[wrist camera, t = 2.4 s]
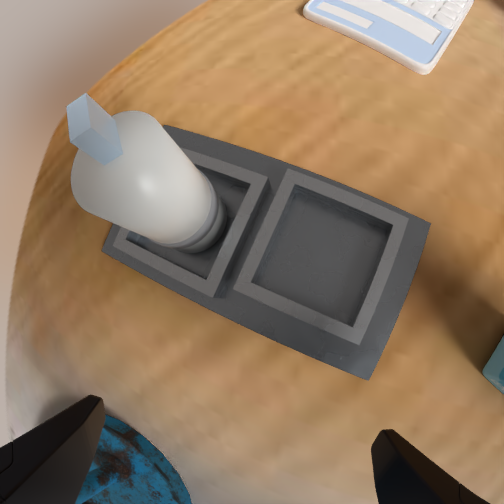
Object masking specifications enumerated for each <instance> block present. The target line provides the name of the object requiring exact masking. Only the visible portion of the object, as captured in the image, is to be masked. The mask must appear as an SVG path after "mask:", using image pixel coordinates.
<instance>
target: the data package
mask: <svg viewBox="0 0 504 504" xmlns="http://www.w3.org/2000/svg"><path fill="white" fill-rule="evenodd" d="M483 375H484V376H485V378H486V379H487V380H488V381H490V382H491V383H492V384H493V385H494V386H495V387H496V388H497V389H498V390H499V391H501V392H502V393H503V394H504V335H503V337H502V339H501V341H500V342H499V344H498V346H497V348H496V349H495V351H494V353H493V354H492V356H491V358H490V359H489V361H488V362H487V364H486V365H485V367H484V369H483Z"/></svg>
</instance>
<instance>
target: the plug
mask: <svg viewBox="0 0 504 504" xmlns="http://www.w3.org/2000/svg"><path fill="white" fill-rule="evenodd" d="M67 118H68V128H69V137H70V142H71V143H72V144H74V145H75V146H77V147H78V148H79V149H78V152H77V154H76V156H75V159H74V162H73V166H72V171H71V188H72V192H73V195H74V197H75V199H76V201H77V203H78V204H79V205H80V206H81V207H82V208H83V209H84V210H85V211H87V212H89V213H91V214H93V215H96V216H98V217H100V218H103V219H105V220H107V221H109V222H112V223H114V224H116V225H119V226H121V227H123V228H126V229H128V230H130V231H133V232H135V233H137V234H140V235H142V236H145V237H147V238H148V239H149V240H151V241H153V242H155V243H157V244H159V245H162V246H164V247H167V248H172V249H176V250H178V251H181V252H184V253H198V252H201V251H204V250H206V249H208V248H209V247H211V246H212V245H213V244H215V243H216V242H217V240H218V239H219V238H220V236H221V235H222V233H223V231H224V229H225V226H226V221H227V211H226V207H225V204H224V202H223V200H222V198H221V197H220V195H219V194H218V193H217V192H216V190H215V188H214V186H213V185H212V183H211V182H210V181H209V180H208V178H207V177H206V176H205V175H204V174H203V173H202V172H201V171H200V170H199V169H197V168H196V167H195V165H194V164H193V163H192V162H191V161H190V159H189V158H188V157H187V156H186V155H185V153H184V152H183V151H182V150H181V149H180V148H179V146H178V145H177V144H176V143H175V142H174V140H173V139H172V138H171V137H170V136H169V134H168V133H167V132H166V131H165V130H164V129H163V127H162V126H161V125H160V124H159V123H158V121H157V120H156V119H155V118H154V117H152V116H151V115H149V114H147V113H145V112H141V111H125V112H121V113H118V114H115V115H113V116H110V115H109V114H108V113H107V112H106V111H105V110H104V109H103V108H102V107H101V106H99V105H98V104H97V103H96V102H95V101H94V100H93V99H92V98H91V97H90V96H89V95H88V94H87V93H85V94H83V95H82V96H80V97H79V98H77V99H76V100H75V101H73V102H72V103H71V104H69V105H68V106H67Z"/></svg>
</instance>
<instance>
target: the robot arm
mask: <svg viewBox="0 0 504 504" xmlns="http://www.w3.org/2000/svg"><path fill="white" fill-rule="evenodd" d="M104 422H105V410H104V403H103V399H102V398H101V397H97V396H94V395H88V396H87V397H85V398H84V399H82V400H80V401H79V402H77V403H75V404H74V405H72V406H70V407H69V408H67V409H65V410H64V411H62V412H61V413H59V414H57V415H56V416H54V417H52V418H51V419H49V420H47V421H46V422H44V423H42V424H40V425H39V426H37V427H35V428H34V429H32V430H30V431H29V432H27V433H25V434H23V435H22V436H20V437H18V438H17V439H15V440H13V442H9V443H8V444H6V445H4V446H2V447H1V448H0V504H75V503H76V500H77V498H78V495H79V493H80V491H81V488H82V486H83V483H84V481H85V479H86V476H87V474H88V471H89V469H90V467H91V464H92V462H93V459H94V456H95V453H96V450H97V446H98V443H99V439H100V436H101V432H102V429H103V426H104ZM371 455H372V463H373V472H374V481H375V488H376V493H377V497H378V502H379V504H490V503H488V502H487V501H485V500H483V499H482V498H480V497H479V496H477V495H476V494H474V493H473V492H471V491H470V490H469V489H467V488H466V487H465V486H463V485H462V484H461V483H459V482H458V481H457V480H455V479H454V478H453V477H452V476H450V475H449V474H448V473H446V472H445V471H444V470H443V469H441V468H440V467H439V466H438V465H436V464H435V463H434V462H433V461H431V460H430V459H429V458H428V457H426V456H425V455H424V454H423V453H421V452H420V451H419V450H418V449H416V448H415V447H414V446H413V445H411V444H410V443H409V442H408V441H407V440H405V439H404V438H403V437H402V436H400V435H399V434H398V433H397V432H396V431H394V430H393V429H386V430H382V431H380V433H379V434H378V436H377V438H376V439H375V441H374V442H373V444H372V447H371Z"/></svg>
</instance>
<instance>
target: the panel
mask: <svg viewBox="0 0 504 504" xmlns="http://www.w3.org/2000/svg"><path fill="white" fill-rule="evenodd" d="M163 129H164V130H165V131H166V132H167V133H168V134H169V136H170V137H171V138H172V139H173V140H174V142H175V143H176V144H177V145H178V146H179V148H180V149H181V150H182V151H183V152H184V153H185V155H186V156H187V157H188V158H189V159H190V161H191V162H192V163H193V164H194V165H195V167H196V168H197V169H199V170H200V171H201V172H202V173H203V174H204V175H205V176H206V177H207V178H208V180H209V181H210V182H211V183H212V185H213V186H214V188H215V190H216V192H217V193H218V194H219V195H220V197H221V198H222V200H223V202H224V204H225V207H226V211H227V221H226V226H225V229H224V231H223V233H222V235H221V236H220V238H219V239H218V240H217V242H216V243H215V244H213V245H212V246H211V247H209V248H208V249H206V250H204V251H201V252H198V253H184V252H181V251H178V250H176V249H172V248H167V247H164V246H162V245H159V244H157V243H155V242H153V241H151V240H149V239H148V238H147V237H145V236H142V235H140V234H137V233H135V232H133V231H130V230H128V229H126V228H123V227H121V226H119V225H116V224H114V223H113V225H112V228H111V230H110V232H109V234H108V237H107V239H106V241H105V244H104V246H103V248H102V252H104V253H106V254H108V255H109V256H111V257H113V258H115V259H116V260H118V261H120V262H122V263H123V264H125V265H127V266H129V267H130V268H132V269H134V270H136V271H138V272H139V273H141V274H143V275H145V276H147V277H149V278H150V279H152V280H154V281H156V282H158V283H160V284H161V285H163V286H165V287H167V288H169V289H171V290H173V291H175V292H176V293H178V294H180V295H182V296H184V297H186V298H188V299H190V300H192V301H194V302H196V303H198V304H200V305H202V306H204V307H206V308H208V309H210V310H212V311H214V312H216V313H218V314H220V315H222V316H224V317H226V318H228V319H230V320H232V321H234V322H236V323H238V324H240V325H242V326H244V327H246V328H248V329H251V330H253V331H255V332H257V333H259V334H261V335H263V336H265V337H268V338H270V339H272V340H274V341H276V342H278V343H281V344H283V345H285V346H287V347H290V348H292V349H294V350H296V351H299V352H301V353H303V354H305V355H308V356H310V357H312V358H315V359H317V360H319V361H322V362H324V363H326V364H329V365H331V366H333V367H336V368H338V369H341V370H343V371H345V372H348V373H350V374H353V375H355V376H358V377H360V378H363V379H365V380H368V381H369V379H370V377H371V375H372V373H373V371H374V369H375V367H376V365H377V363H378V361H379V359H380V356H381V354H382V352H383V350H384V348H385V346H386V343H387V341H388V339H389V337H390V334H391V332H392V330H393V328H394V325H395V323H396V320H397V318H398V316H399V313H400V311H401V308H402V306H403V303H404V301H405V298H406V296H407V293H408V290H409V288H410V285H411V282H412V280H413V277H414V274H415V271H416V268H417V266H418V263H419V260H420V257H421V254H422V251H423V248H424V245H425V241H426V238H427V235H428V232H429V228H430V225H431V223H429V222H427V221H425V220H422V219H420V218H418V217H416V216H414V215H412V214H410V213H408V212H406V211H403V210H401V209H399V208H397V207H395V206H392V205H390V204H388V203H386V202H383V201H381V200H379V199H377V198H374V197H372V196H370V195H367V194H365V193H363V192H360V191H358V190H355V189H353V188H351V187H348V186H346V185H343V184H341V183H338V182H336V181H333V180H331V179H328V178H326V177H323V176H321V175H318V174H315V173H313V172H310V171H308V170H305V169H302V168H300V167H297V166H294V165H291V164H289V163H286V162H283V161H280V160H277V159H275V158H272V157H269V156H266V155H263V154H260V153H257V152H254V151H251V150H248V149H245V148H242V147H239V146H236V145H233V144H229V143H226V142H223V141H220V140H216V139H213V138H210V137H206V136H203V135H200V134H196V133H193V132H189V131H186V130H182V129H178V128H175V127H171V126H167V125H164V126H163Z"/></svg>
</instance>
